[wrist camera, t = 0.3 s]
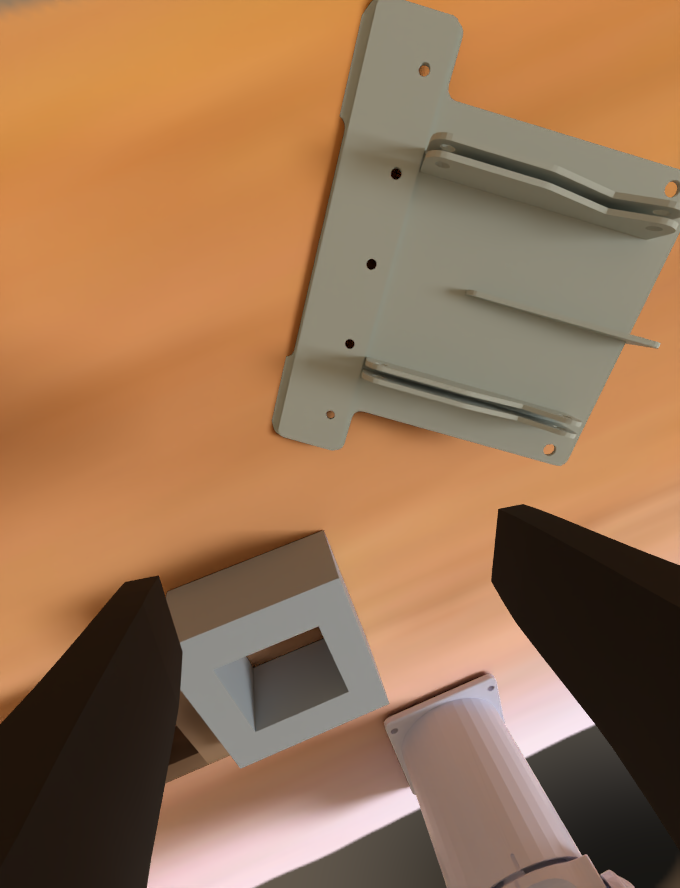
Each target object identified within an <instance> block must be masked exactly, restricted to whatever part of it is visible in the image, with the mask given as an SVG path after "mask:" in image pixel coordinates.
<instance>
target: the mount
mask: <svg viewBox="0 0 680 888" xmlns="http://www.w3.org/2000/svg"><path fill="white" fill-rule="evenodd" d="M176 725H177V726H176V727H175V732H174V738H173V743H172V749H171V754H170V760H169V765H168V770H167V776H166V781H165V783H167V782H170V781H172V780H174V779H177V778H179V777H181V776H183V775H186V774H188V773H190V772H193V771H195V770H197V769H200V768H202V767H204V766H207V765H209V764H211V763H214V762H216V761H218V760H220V759H223V758H225V757H227V756H230V754H229V753H228V752H227V750H226V749H225V748H224V746H223V745H222V744H221V742H220V741H219V740H218V738H217V737H216V736H215V734H214V733H213V732H212V731H211V729H210V728H209V727H208V725H207V724H206V723H205V721H204V720H203V719H202V717H201V716H200V715H199V713H198V712H197V711H196V710H195V708H194V707H193V706H192V704H191V703H190V702H189V700H188V699H187V698H186V696H185V695H184V694H183V692H182V691H181V690H180V699H179V709H178V715H177V721H176Z"/></svg>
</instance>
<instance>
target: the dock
mask: <svg viewBox="0 0 680 888" xmlns="http://www.w3.org/2000/svg"><path fill="white" fill-rule="evenodd" d="M166 600H167V604H168V607H169V610H170V613H171V616H172V619H173V623H174V626H175V629H176V632H177V635H178V639H179V642H180V645H181V648H182V651H183V656H182V672H181V687H180V690H181V691H182V692H183V694H184V695H185V696H186V698H187V699H188V700H189V702H190V703H191V704H192V706H193V707H194V708H195V710H196V711H197V712H198V713H199V715H200V716H201V717H202V719H203V720H204V721H205V723H206V724H207V725H208V727H209V728H210V729H211V731H212V732H213V733H214V734H215V736H216V737H217V738H218V740H219V741H220V742H221V744H222V745H223V746H224V748H225V749H226V750H227V752H228V753H229V754H230V756H231V757H232V758H233V759H234V761H235V762H236V763H237V765H238V766H239V767H240V769H241V768H243V767H246V766H248V765H250V764H252V763H255V762H257V761H259V760H262V759H264V758H266V757H268V756H271V755H273V754H275V753H278V752H280V751H282V750H285V749H287V748H289V747H291V746H294V745H296V744H298V743H301V742H303V741H305V740H307V739H310V738H312V737H314V736H317V735H319V734H321V733H323V732H326V731H328V730H330V729H333V728H335V727H337V726H340V725H342V724H344V723H346V722H349V721H351V720H353V719H356V718H358V717H360V716H362V715H365V714H367V713H369V712H372V711H374V710H376V709H378V708H381V707H383V706H385V705H388V704H389V701H388V698H387V695H386V692H385V690H384V687H383V684H382V681H381V678H380V675H379V672H378V669H377V666H376V663H375V661H374V658H373V655H372V652H371V649H370V646H369V644H368V641H367V639H366V636H365V634H364V631H363V628H362V626H361V623H360V621H359V618H358V616H357V613H356V611H355V608H354V606H353V603H352V601H351V598H350V596H349V593H348V591H347V588H346V585H345V583H344V580H343V578H342V575H341V573H340V570H339V568H338V565H337V563H336V560H335V558H334V555H333V553H332V550H331V547H330V545H329V542H328V540H327V537H326V535H325V532H324V530H323V531H320V532H318V533H315V534H313V535H310V536H308V537H305V538H303V539H300V540H298V541H295V542H292V543H290V544H287V545H285V546H282V547H280V548H277V549H275V550H272V551H270V552H267V553H264V554H262V555H259V556H257V557H254V558H252V559H249V560H247V561H244V562H242V563H239V564H236V565H234V566H231V567H229V568H226V569H224V570H221V571H219V572H216V573H214V574H211V575H209V576H206V577H203V578H201V579H198V580H196V581H193V582H191V583H188V584H186V585H183V586H181V587H178V588H175V589H173V590H170V591H168V592H167V595H166ZM318 626H319V628H320V630H321V633H322V635H323V637H324V639H322V640H319V641H317V642H314V643H312V644H310V645H307V646H305V647H302V648H300V649H298V650H295V651H293V652H290V653H288V654H286V655H283V656H281V657H278V658H276V659H274V660H271V661H269V662H266V663H264V664H262V665H259V666H257V667H254V668H253V667H252V665H251V663H250V662H249V660H248V658H247V657H246V656H248V655H250V654H253V653H255V652H258V651H260V650H263V649H265V648H267V647H270V646H272V645H275V644H277V643H279V642H282V641H284V640H287V639H289V638H292V637H294V636H296V635H299V634H301V633H304V632H306V631H309V630H311V629H313V628H316V627H318Z"/></svg>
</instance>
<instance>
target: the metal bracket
mask: <svg viewBox="0 0 680 888" xmlns="http://www.w3.org/2000/svg"><path fill="white" fill-rule="evenodd" d="M462 37H463V29H462V26H461V25H460V23H459V22H458V19H457V18H456V17H455V16H453V15H450V14H447V13H444V12H440V11H437V10H434V9H431V8H428V7H424V6H421V5H418V4H415V3H412V2H408V1H405V0H373V1H372V2H371V3H370V4H369V6H368V7H367V9H366V10H365V12H364V13H363V15H362V18H361V23H360V27H359V32H358V36H357V41H356V45H355V50H354V54H353V59H352V63H351V68H350V72H349V77H348V81H347V86H346V90H345V95H344V99H343V104H342V108H341V113H340V117H341V118H342V119H343V121H344V124H345V131H344V136H343V140H342V144H341V149H340V153H339V157H338V162H337V166H336V170H335V175H334V179H333V183H332V188H331V192H330V197H329V201H328V205H327V210H326V214H325V218H324V223H323V227H322V231H321V236H320V240H319V244H318V249H317V253H316V258H315V262H314V266H313V271H312V275H311V279H310V284H309V288H308V292H307V297H306V301H305V305H304V310H303V314H302V319H301V323H300V327H299V332H298V336H297V340H296V345H295V349H294V352H293V353H292V355H290V356H286V360H285V364H284V369H283V373H282V378H281V382H280V387H279V391H278V396H277V400H276V405H275V409H274V414H273V418H272V423H273V427H274V430H275V432H276V433H278V434H280V435H281V436H283V437H285V438H288V439H292V440H296V441H299V442H303V443H307V444H310V445H314V446H317V447H321V448H325V449H328V450H339V449H340V448H342V447H343V445H344V443H345V439H346V436H347V433H348V429H349V426H350V422H351V419H352V416H353V415H354V413H356V412H358V411H363V412H367V413H370V414H374V415H377V416H381V417H384V418H388V419H392V420H395V421H399V422H402V423H406V424H410V425H413V426H417V427H420V428H424V429H427V430H431V431H435V432H438V433H442V434H445V435H449V436H452V437H456V438H460V439H463V440H467V441H470V442H474V443H477V444H481V445H485V446H488V447H492V448H495V449H499V450H503V451H506V452H510V453H513V454H517V455H520V456H524V457H528V458H531V459H535V460H538V461H542V462H545V463H549V464H553V465H558V466H561V465H563V464H565V463H566V462H567V460H568V459H569V457H570V455H571V453H572V450H573V448H574V446H575V444H576V442H577V440H578V438H579V436H580V434H581V432H582V430H583V428H584V426H585V424H586V422H587V420H588V418H589V416H590V414H591V412H592V410H593V408H594V406H595V404H596V402H597V400H598V398H599V395H600V393H601V391H602V389H603V387H604V385H605V383H606V381H607V379H608V377H609V375H610V373H611V371H612V369H613V367H614V365H615V363H616V361H617V359H618V357H619V355H620V353H621V351H622V349H623V347H624V345H625V343H626V344H632V345H638V346H644V347H651V348H657V349H658V347H659V346H660V344H661V343H658V342H655V341H652V340H648V339H645V338H641V337H637V336H634V335H630V332H631V330H632V328H633V326H634V324H635V322H636V320H637V318H638V316H639V314H640V312H641V310H642V308H643V306H644V304H645V302H646V300H647V298H648V296H649V294H650V292H651V290H652V288H653V286H654V283H655V281H656V279H657V277H658V275H659V273H660V271H661V269H662V267H663V265H664V263H665V261H666V259H667V257H668V255H669V253H670V251H671V249H672V247H673V245H674V243H675V241H676V239H677V237H678V235H679V233H680V170H679V169H676V168H673V167H669V166H666V165H663V164H660V163H656V162H653V161H650V160H647V159H643V158H640V157H637V156H633V155H630V154H627V153H624V152H620V151H617V150H614V149H611V148H607V147H604V146H601V145H598V144H594V143H591V142H588V141H584V140H581V139H578V138H575V137H571V136H568V135H565V134H562V133H558V132H555V131H552V130H549V129H545V128H542V127H539V126H535V125H532V124H529V123H526V122H522V121H519V120H516V119H513V118H509V117H506V116H503V115H500V114H496V113H493V112H490V111H487V110H483V109H480V108H477V107H473V106H470V105H467V104H464V103H460V102H457V101H455V100H453V99H452V98H451V97H450V95H449V92H448V88H449V82H450V79H451V75H452V72H453V68H454V65H455V62H456V58H457V55H458V51H459V48H460V44H461V41H462ZM422 65H426V66H427V67H429V70H430V73H429V75H427V76H426V77H422V76H421V75H420V74H419V68H420V67H421V66H422ZM394 169H399V170H400V171H401V177H400V178H399V179H398V180H394V179H393V178H392V177H391V172H392V170H394ZM669 182H674V183H676V185H677V192H676V194H675V195H674V196H673V197H672V198H669V197H667V196H666V195H665V192H664V191H665V186H666V185H667V184H668V183H669ZM370 259H373V260H375V261H376V268H375V269H373V270H370V269H368V268H367V266H366V263H367V261H368V260H370ZM348 339H352V340H353V341H354V343H355V344H354V347H353V348H351V349H348V348H347V347H346V346H345V342H346V340H348ZM328 411H333V412H334V413H335V416H334V418H328V417H327V415H326V413H327V412H328ZM548 444H553V445H554V451H553V452H552V453H551V454H544V452H543V449H544V447H545V446H546V445H548Z"/></svg>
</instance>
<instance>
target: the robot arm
mask: <svg viewBox="0 0 680 888" xmlns="http://www.w3.org/2000/svg"><path fill="white" fill-rule="evenodd" d="M491 582H492V583H493V585H494V587H495V589H496V590H497V592H498V594H499V596H500V597H501V599H502V601H503V602H504V604H505V606H506V607H507V609H508V611H509V612H510V614H511V615H512V617H513V619H514V620H515V622H516V623H517V625H518V626H519V627H520V628H521V630H522V631H523V632H524V634H525V635H526V636H527V638H528V639H529V640H530V642H531V643H532V644H533V645H534V647H535V648H536V649H537V651H538V652H539V653H540V654H541V656H542V657H543V658H544V660H545V661H546V662H547V663H548V665H549V666H550V667H551V668H552V670H553V671H554V672H555V674H556V675H557V676H558V677H559V679H560V680H561V681H562V682H563V684H564V685H565V686H566V688H567V689H568V690H569V691H570V693H571V694H572V695H573V696H574V698H575V699H576V700H577V702H578V703H579V704H580V705H581V707H582V708H583V709H584V710H585V712H586V713H587V714H588V715H589V717H590V718H591V719H592V721H593V722H594V723H595V725H596V726H597V727H598V728H599V730H600V731H601V733H602V734H603V735H604V737H605V738H606V739H607V741H608V742H609V744H610V745H611V746H612V748H613V749H614V751H615V752H616V753H617V755H618V757H619V758H620V760H621V761H622V763H623V764H624V766H625V767H626V769H627V770H628V771H629V773H630V774H631V776H632V778H633V779H634V780H635V782H636V784H637V785H638V787H639V788H640V790H641V791H642V793H643V794H644V796H645V797H646V799H647V800H648V802H649V803H650V805H651V806H652V808H653V809H654V811H655V812H656V814H657V816H658V817H659V819H660V820H661V822H662V824H663V825H664V827H665V828H666V830H667V831H668V833H669V835H670V836H671V838H672V839H673V841H674V843H675V844H676V846H677V847H678V849H679V850H680V565H677V564H675V563H672V562H669V561H667V560H664V559H661V558H659V557H656V556H654V555H651V554H648V553H646V552H643V551H641V550H638V549H636V548H633V547H631V546H628V545H626V544H623V543H621V542H618V541H616V540H613V539H611V538H608V537H606V536H604V535H601V534H599V533H596V532H594V531H591V530H589V529H587V528H584V527H582V526H579V525H577V524H574V523H572V522H569V521H567V520H565V519H562V518H560V517H557V516H554V515H552V514H549V513H547V512H544V511H542V510H539V509H536V508H533V507H530V506H527V505H524V504H522V505H516V506H511V507H506V508H501V509H498V518H497V528H496V538H495V548H494V558H493V568H492V578H491ZM182 656H183V651H182V648H181V645H180V642H179V639H178V635H177V632H176V629H175V626H174V623H173V619H172V616H171V613H170V610H169V607H168V604H167V600H166V597H165V594H164V591H163V588H162V584H161V581H160V578H159V576H154V577H149V578H144V579H139V580H134V581H129V582H125V583H124V584H123V585H122V586H121V587H120V588H119V590H118V591H117V592H116V593H115V594H114V595H113V597H112V598H111V599H110V600H109V601H108V602H107V604H106V605H105V606H104V607H103V608H102V610H101V611H100V612H99V613H98V614H97V616H96V617H95V618H94V619H93V620H92V622H91V623H90V624H89V625H88V626H87V627H86V629H85V630H84V631H83V632H82V633H81V635H80V636H79V637H78V638H77V639H76V640H75V642H74V643H73V644H72V645H71V646H70V647H69V649H68V650H67V651H66V652H65V653H64V654H63V655H62V657H61V658H60V659H59V660H58V661H57V662H56V664H55V665H54V666H53V667H52V668H51V669H50V670H49V672H48V673H47V674H46V675H45V676H44V677H43V679H42V680H41V681H40V682H39V683H38V684H37V685H36V686H35V688H34V689H33V690H32V691H31V692H30V693H29V694H28V695H27V696H26V697H25V698H24V699H23V701H22V702H21V703H20V704H19V705H18V706H17V707H16V708H15V709H14V710H13V711H12V712H11V713H10V714H9V716H8V717H7V718H6V719H5V720H4V721H3V722H2V723H1V724H0V888H147V882H148V875H149V869H150V862H151V856H152V851H153V846H154V840H155V835H156V830H157V824H158V819H159V813H160V808H161V803H162V797H163V792H164V787H165V781H166V776H167V770H168V765H169V760H170V754H171V749H172V743H173V738H174V732H175V727H176V721H177V715H178V709H179V699H180V687H181V672H182ZM384 727H385V730H386V732H387V734H388V737H389V739H390V741H391V744H392V746H393V748H394V751H395V753H396V755H397V758H398V760H399V762H400V765H401V767H402V769H403V772H404V774H405V776H406V779H407V781H408V783H409V786H410V788H411V790H412V793H413V794H414V795H416V796H417V799H418V802H419V805H420V808H421V811H422V814H423V817H424V820H425V823H426V826H427V829H428V831H429V835H430V838H431V841H432V844H433V847H434V850H435V853H436V856H437V859H438V862H439V864H440V867H441V870H442V873H443V876H444V879H445V882H446V885H447V888H635V887H634V886H633V885H632V884H631V883H630V882H628V881H627V880H624V879H623V878H621V877H619V876H617V875H616V874H615V873H614V872H612V871H610V870H607V871H605V872H604V873H602V874H600V875H599V874H598V872H597V870H596V869H595V867H594V866H593V864H592V862H591V860H590V859H589V857H588V855H583V856H582V855H581V853H580V851H579V850H578V848H577V846H576V845H575V843H574V841H573V840H572V838H571V836H570V834H569V833H568V831H567V829H566V828H565V826H564V824H563V822H562V821H561V819H560V817H559V816H558V814H557V812H556V811H555V809H554V807H553V805H552V804H551V802H550V800H549V799H548V797H547V795H546V793H545V792H544V790H543V788H542V787H541V785H540V783H539V781H538V780H537V778H536V776H535V775H534V773H533V771H532V770H531V768H530V766H529V765H528V763H527V761H526V759H525V758H524V756H523V754H522V753H521V751H520V749H519V747H518V746H517V744H516V742H515V741H514V739H513V737H512V735H511V734H510V732H509V730H508V729H507V727H506V725H505V722H504V717H503V711H502V706H501V701H500V696H499V691H498V686H497V681H496V679H495V677H494V676H493V675H492V674H486V675H483V676H481V677H479V678H477V679H474V680H472V681H470V682H467V683H465V684H463V685H461V686H458V687H456V688H454V689H452V690H449V691H447V692H445V693H442V694H440V695H438V696H436V697H433V698H431V699H429V700H427V701H424V702H422V703H420V704H417V705H415V706H413V707H411V708H408V709H406V710H404V711H401V712H399V713H397V714H395V715H392V716H390V717H388V718H387V719H386V720H385V721H384Z"/></svg>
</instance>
